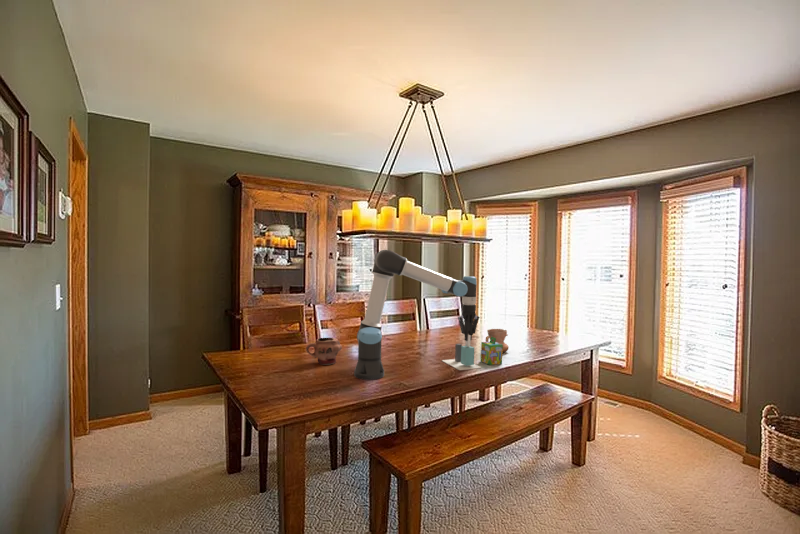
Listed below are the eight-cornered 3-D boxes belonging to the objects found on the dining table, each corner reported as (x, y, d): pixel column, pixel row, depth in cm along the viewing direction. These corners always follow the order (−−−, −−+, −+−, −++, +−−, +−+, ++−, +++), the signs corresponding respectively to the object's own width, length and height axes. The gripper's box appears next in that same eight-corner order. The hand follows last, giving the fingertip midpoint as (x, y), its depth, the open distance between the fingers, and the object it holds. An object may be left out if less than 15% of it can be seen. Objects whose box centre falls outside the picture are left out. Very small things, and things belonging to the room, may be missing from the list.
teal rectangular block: (465, 365, 226) (466, 348, 226) (460, 363, 231) (461, 346, 231) (473, 364, 228) (474, 347, 228) (468, 362, 233) (469, 345, 233)
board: (459, 370, 222) (459, 369, 222) (441, 361, 240) (441, 360, 240) (481, 368, 227) (481, 367, 227) (462, 359, 246) (462, 358, 246)
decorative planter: (309, 368, 219) (309, 342, 219) (303, 362, 230) (303, 338, 229) (344, 364, 229) (345, 339, 228) (337, 359, 239) (337, 335, 239)
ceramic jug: (499, 348, 277) (499, 327, 277) (514, 352, 265) (514, 330, 264) (478, 351, 269) (478, 329, 268) (493, 356, 256) (493, 333, 256)
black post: (457, 362, 237) (457, 344, 237) (455, 360, 239) (455, 343, 239) (461, 361, 238) (461, 344, 238) (458, 360, 240) (459, 343, 240)
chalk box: (480, 361, 242) (480, 336, 241) (493, 360, 245) (493, 335, 245) (489, 365, 233) (490, 339, 233) (502, 364, 237) (503, 338, 236)
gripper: (462, 305, 222) (461, 348, 223) (482, 304, 227) (481, 347, 228) (455, 303, 229) (454, 345, 230) (475, 303, 234) (474, 344, 235)
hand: (467, 346), depth 229 cm, fingers closed
